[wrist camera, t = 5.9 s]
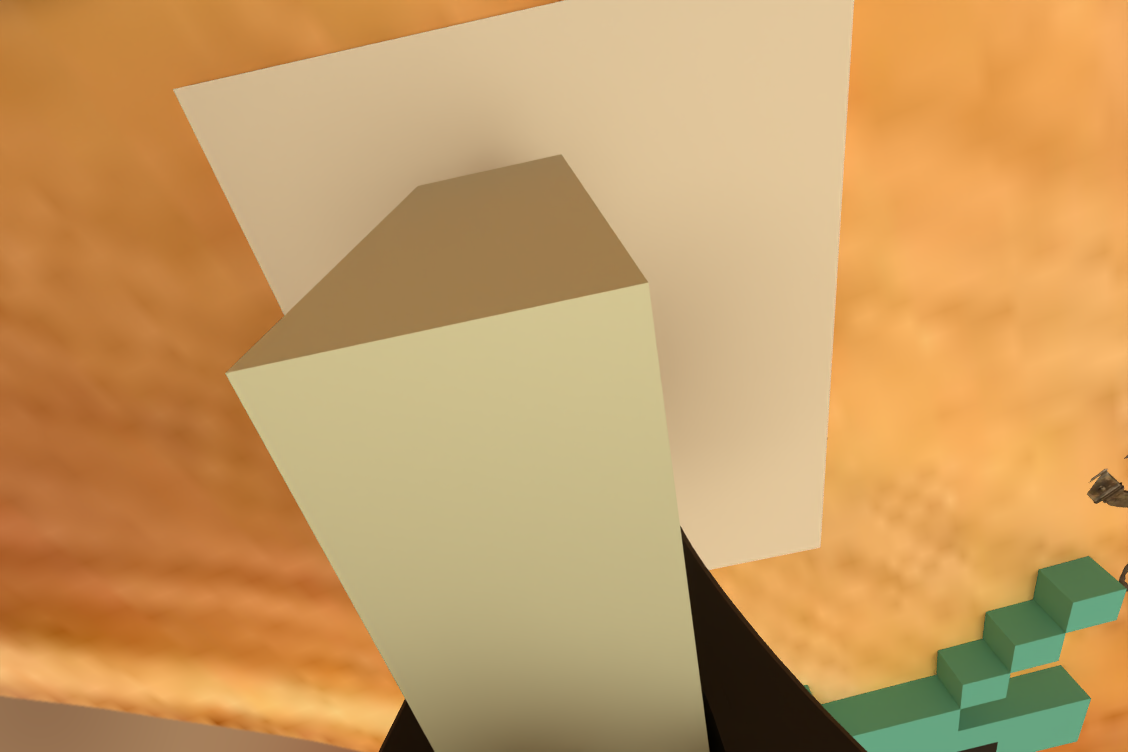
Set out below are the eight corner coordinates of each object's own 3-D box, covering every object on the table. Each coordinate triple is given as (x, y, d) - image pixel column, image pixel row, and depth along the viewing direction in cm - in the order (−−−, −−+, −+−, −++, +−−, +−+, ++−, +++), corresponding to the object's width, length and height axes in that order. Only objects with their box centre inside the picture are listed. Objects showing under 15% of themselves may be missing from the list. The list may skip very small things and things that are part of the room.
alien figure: (661, 662, 27) (725, 828, 37) (672, 707, 25) (737, 870, 35) (1080, 548, 25) (1029, 754, 35) (1126, 588, 23) (1059, 794, 33)
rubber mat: (438, 614, 23) (436, 624, 23) (184, 88, 13) (173, 89, 13) (814, 538, 23) (820, 547, 22) (846, -62, 13) (857, -66, 12)
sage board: (557, 638, 15) (586, 1025, 9) (417, 185, 9) (225, 374, 3) (648, 620, 15) (741, 999, 9) (561, 154, 9) (648, 282, 3)
